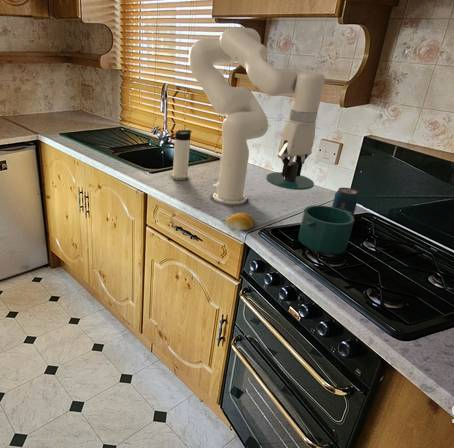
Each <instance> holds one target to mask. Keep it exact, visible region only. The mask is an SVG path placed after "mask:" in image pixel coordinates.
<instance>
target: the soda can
mask: <svg viewBox="0 0 454 448" xmlns="http://www.w3.org/2000/svg"><path fill="white" fill-rule="evenodd" d="M358 200H359V195H358V190H356V189H354V188H351V187H339V188H338V189H337V191H336V192H335V194H334V197H333V201H332V205H331V207H334V208H338V209H341V210H343V211H344V210H347V211H349V212H352V216H353V217H354V215H355V212H356V209H357V204H358Z"/></svg>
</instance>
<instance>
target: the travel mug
mask: <svg viewBox="0 0 454 448" xmlns="http://www.w3.org/2000/svg"><path fill="white" fill-rule="evenodd" d="M191 133H193V131H192V130H190V129H182V130H177V131H175V134H174V135H175V136H174V144H173V145H174V146H173V148H174V149H173V160H172V161H173V162H172V175H171V176H172V179H173V180H176V181H185V180H187V179H188V172H189V160H190V148H191Z"/></svg>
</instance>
